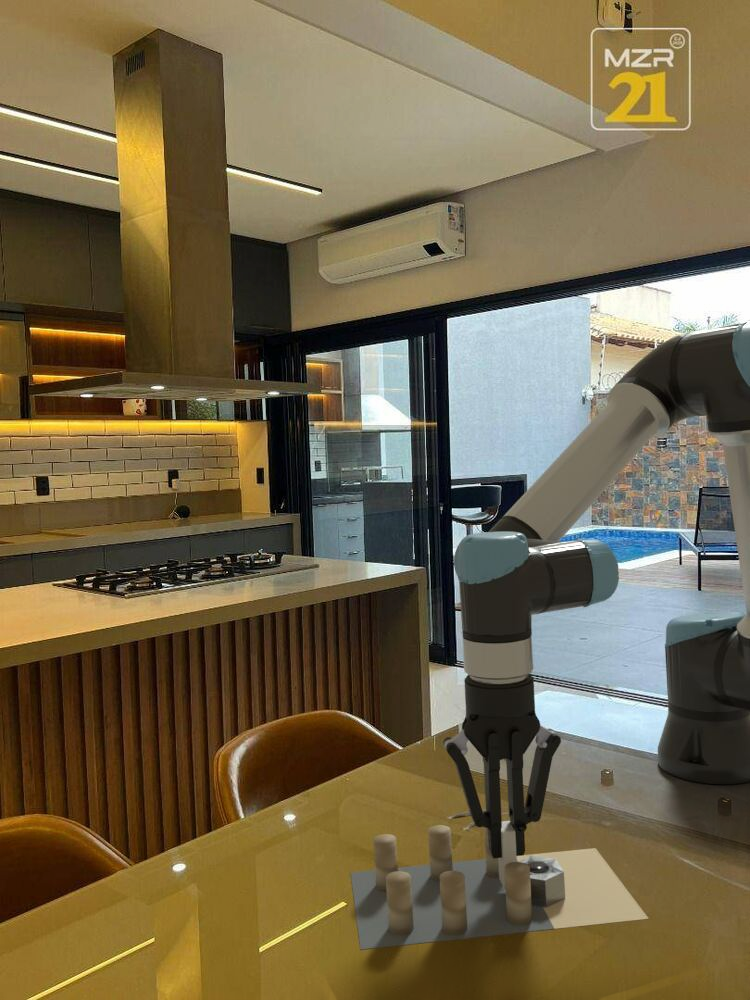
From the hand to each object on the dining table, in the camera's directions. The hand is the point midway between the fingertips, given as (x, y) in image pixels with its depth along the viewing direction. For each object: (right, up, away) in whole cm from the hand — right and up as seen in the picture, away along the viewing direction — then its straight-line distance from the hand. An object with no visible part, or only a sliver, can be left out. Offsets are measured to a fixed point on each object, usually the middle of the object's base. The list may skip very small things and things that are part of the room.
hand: (508, 883), depth 96 cm
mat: (-2, -2, 0) cm, 3 cm away
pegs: (-6, -2, -1) cm, 7 cm away
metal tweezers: (+3, -1, +22) cm, 22 cm away
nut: (+3, -1, 0) cm, 3 cm away
